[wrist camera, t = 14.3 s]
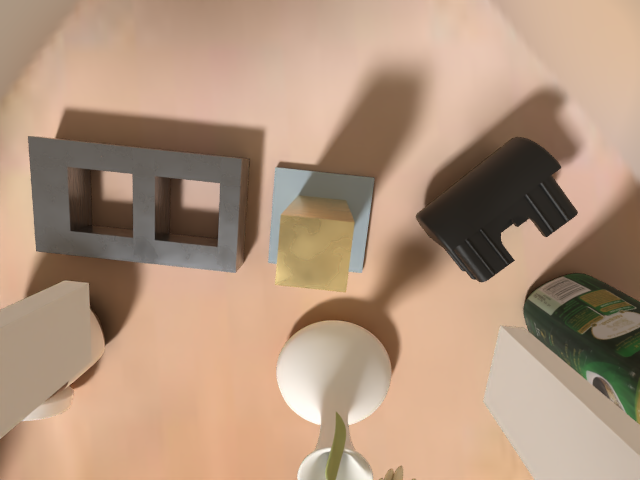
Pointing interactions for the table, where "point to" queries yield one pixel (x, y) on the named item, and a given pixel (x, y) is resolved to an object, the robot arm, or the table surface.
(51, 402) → the spread jar
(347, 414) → the flower in vase
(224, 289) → the table surface
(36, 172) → the steel socket block
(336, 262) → the brass peg
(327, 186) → the slate pad
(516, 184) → the end cap
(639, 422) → the coffee jar
